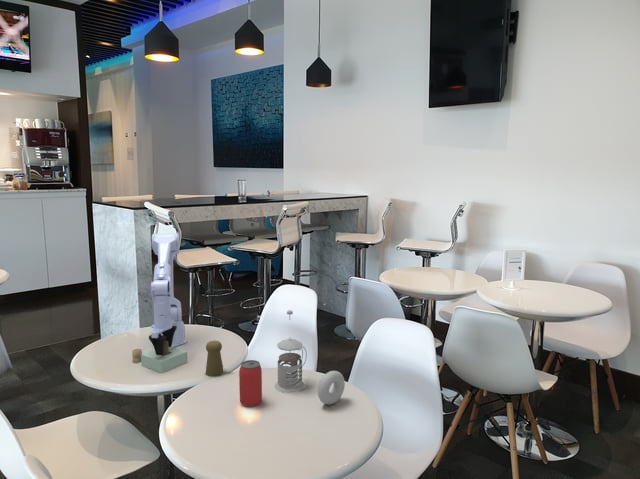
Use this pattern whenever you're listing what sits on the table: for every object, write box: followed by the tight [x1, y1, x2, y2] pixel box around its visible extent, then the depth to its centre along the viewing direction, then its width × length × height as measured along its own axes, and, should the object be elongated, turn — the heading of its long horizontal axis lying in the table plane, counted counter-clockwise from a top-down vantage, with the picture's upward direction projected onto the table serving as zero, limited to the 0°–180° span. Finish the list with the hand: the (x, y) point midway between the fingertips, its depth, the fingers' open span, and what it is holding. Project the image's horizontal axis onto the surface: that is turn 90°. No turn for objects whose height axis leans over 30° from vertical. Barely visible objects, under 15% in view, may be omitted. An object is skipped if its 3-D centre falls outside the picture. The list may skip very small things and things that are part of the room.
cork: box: [205, 340, 224, 378], centre depth 158 cm, size 6×6×11 cm
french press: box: [274, 309, 308, 394], centre depth 148 cm, size 10×12×25 cm
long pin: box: [162, 341, 169, 356], centre depth 165 cm, size 3×3×8 cm
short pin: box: [131, 348, 143, 364], centre depth 168 cm, size 3×3×4 cm
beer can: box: [238, 359, 263, 408], centre depth 138 cm, size 7×7×12 cm
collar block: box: [140, 347, 188, 374], centre depth 165 cm, size 11×11×4 cm
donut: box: [317, 370, 346, 406], centre depth 137 cm, size 10×3×10 cm, turn 134°
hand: (164, 350), depth 165 cm, fingers open, 7 cm apart
